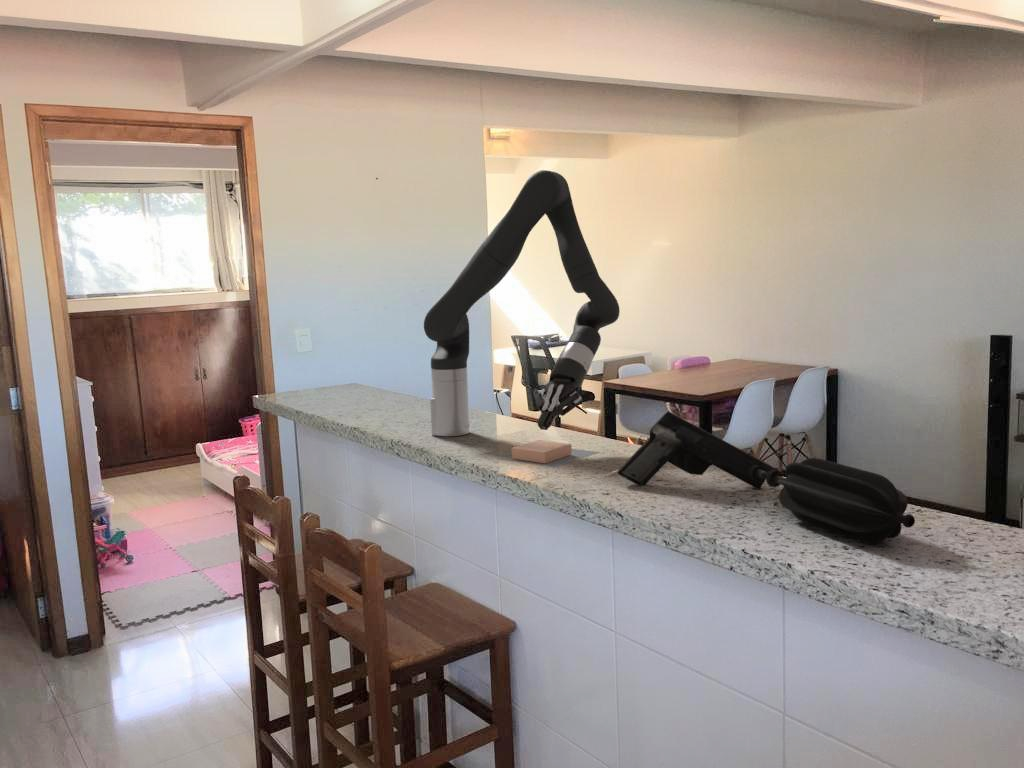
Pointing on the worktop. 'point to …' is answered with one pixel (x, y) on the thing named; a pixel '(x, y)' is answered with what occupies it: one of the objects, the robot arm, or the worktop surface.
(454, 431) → the robot arm
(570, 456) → the mat
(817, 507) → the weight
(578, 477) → the worktop surface
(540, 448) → the tile
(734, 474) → the handgun
